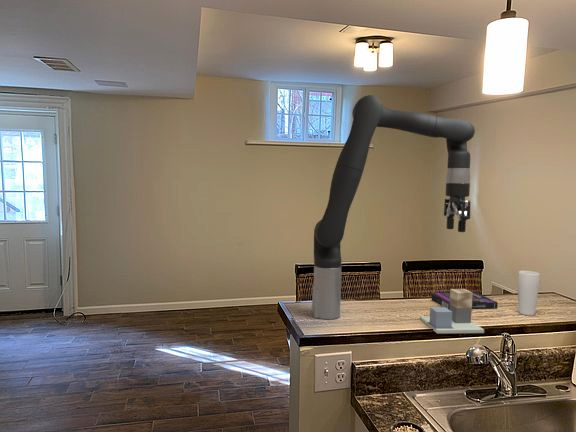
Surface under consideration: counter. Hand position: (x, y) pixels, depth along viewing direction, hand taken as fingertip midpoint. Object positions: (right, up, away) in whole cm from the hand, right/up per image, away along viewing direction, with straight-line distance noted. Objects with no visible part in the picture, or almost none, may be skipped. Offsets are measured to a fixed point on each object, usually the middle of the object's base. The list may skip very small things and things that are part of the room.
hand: (455, 230), depth 150 cm
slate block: (-8, -30, -9) cm, 32 cm away
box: (+11, -30, +20) cm, 37 cm away
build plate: (-4, -31, -6) cm, 31 cm away
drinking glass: (+29, -30, +9) cm, 42 cm away
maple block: (0, -25, -4) cm, 25 cm away
